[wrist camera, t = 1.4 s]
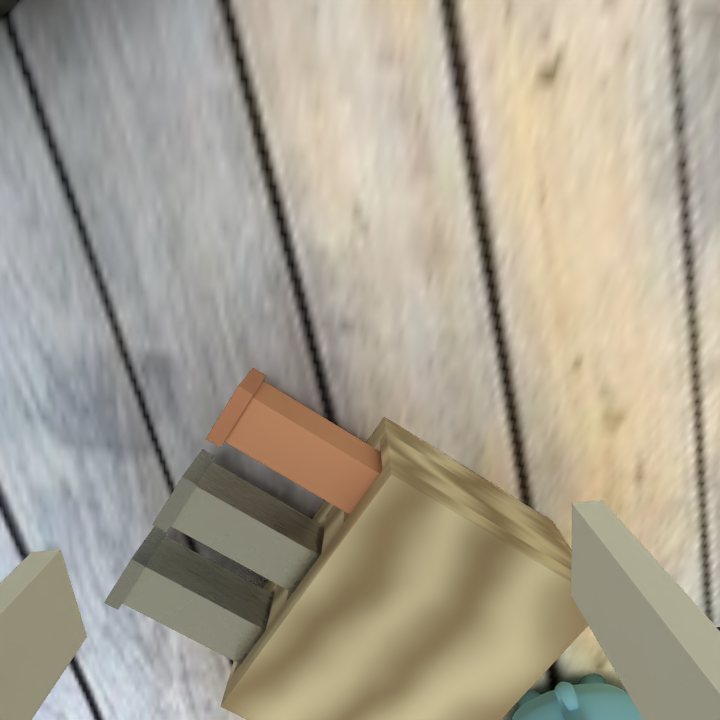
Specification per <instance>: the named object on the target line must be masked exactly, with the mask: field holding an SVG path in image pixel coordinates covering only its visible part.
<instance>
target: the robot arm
mask: <svg viewBox="0 0 720 720" xmlns="http://www.w3.org/2000/svg"><path fill="white" fill-rule="evenodd" d="M17 1H18V0H0V18H1V17H2V16H3V15H5V14H6V13H7V12H8V11H9V10H10V9H11V8H12V7H13V6H14V4H15V3H16V2H17ZM571 596H572V597H573V599H574V601H575V602H576V604H577V606H578V608H579V609H580V611H581V613H582V615H583V616H584V618H585V620H586V622H587V623H588V625H589V627H590V629H591V630H592V632H593V634H594V635H595V637H596V639H597V641H598V642H599V644H600V646H601V648H602V649H603V651H604V653H605V655H606V656H607V658H608V660H609V661H610V663H611V665H612V667H613V668H614V670H615V672H616V674H617V675H618V677H619V679H620V681H621V682H622V684H623V686H624V687H625V689H626V691H627V693H628V694H629V696H630V698H631V700H632V701H633V703H634V705H635V707H636V708H637V710H638V712H639V713H640V715H641V717H642V719H643V720H720V627H716V626H715V625H714V624H713V623H712V622H711V621H710V620H709V619H708V617H707V616H706V615H705V614H704V613H703V612H702V611H701V610H700V608H699V607H698V606H697V605H696V604H695V603H694V602H693V601H692V600H691V598H690V597H689V596H688V595H687V594H686V593H685V592H684V591H683V589H682V588H681V587H680V586H679V585H678V584H677V583H676V582H675V581H674V579H673V578H672V577H671V576H670V575H669V574H668V573H667V572H666V570H665V569H664V568H663V567H662V566H661V565H660V564H659V563H658V561H657V560H656V559H655V558H654V557H653V556H652V555H651V554H650V553H649V551H648V550H647V549H646V548H645V547H644V546H643V545H642V544H641V542H640V541H639V540H638V539H637V538H636V537H635V536H634V535H633V534H632V532H631V531H630V530H629V529H628V528H627V527H626V526H625V525H624V523H623V522H622V521H621V520H620V519H619V518H618V517H617V516H616V515H615V513H614V512H613V511H612V510H611V509H610V508H609V507H608V506H607V504H606V503H605V502H604V501H603V500H600V501H589V502H578V503H572V565H571ZM86 638H87V635H86V632H85V629H84V625H83V622H82V619H81V615H80V612H79V609H78V605H77V602H76V599H75V595H74V592H73V589H72V585H71V582H70V579H69V575H68V572H67V569H66V565H65V562H64V559H63V555H62V552H61V550H51V551H40V552H32V553H31V554H30V555H29V556H28V557H27V558H26V559H25V560H23V561H22V562H21V563H20V564H19V565H18V566H17V567H16V568H15V569H14V570H13V571H12V572H11V573H10V574H9V575H8V576H7V577H6V578H5V579H4V580H3V581H2V582H1V583H0V720H32V718H33V717H34V715H35V714H36V712H37V711H38V709H39V708H40V706H41V705H42V703H43V702H44V700H45V699H46V697H47V696H48V694H49V693H50V691H51V690H52V688H53V687H54V685H55V684H56V682H57V681H58V679H59V678H60V676H61V675H62V673H63V672H64V670H65V669H66V667H67V666H68V664H69V663H70V661H71V660H72V658H73V657H74V655H75V654H76V652H77V651H78V649H79V648H80V646H81V645H82V643H83V642H84V641H85V639H86Z"/></svg>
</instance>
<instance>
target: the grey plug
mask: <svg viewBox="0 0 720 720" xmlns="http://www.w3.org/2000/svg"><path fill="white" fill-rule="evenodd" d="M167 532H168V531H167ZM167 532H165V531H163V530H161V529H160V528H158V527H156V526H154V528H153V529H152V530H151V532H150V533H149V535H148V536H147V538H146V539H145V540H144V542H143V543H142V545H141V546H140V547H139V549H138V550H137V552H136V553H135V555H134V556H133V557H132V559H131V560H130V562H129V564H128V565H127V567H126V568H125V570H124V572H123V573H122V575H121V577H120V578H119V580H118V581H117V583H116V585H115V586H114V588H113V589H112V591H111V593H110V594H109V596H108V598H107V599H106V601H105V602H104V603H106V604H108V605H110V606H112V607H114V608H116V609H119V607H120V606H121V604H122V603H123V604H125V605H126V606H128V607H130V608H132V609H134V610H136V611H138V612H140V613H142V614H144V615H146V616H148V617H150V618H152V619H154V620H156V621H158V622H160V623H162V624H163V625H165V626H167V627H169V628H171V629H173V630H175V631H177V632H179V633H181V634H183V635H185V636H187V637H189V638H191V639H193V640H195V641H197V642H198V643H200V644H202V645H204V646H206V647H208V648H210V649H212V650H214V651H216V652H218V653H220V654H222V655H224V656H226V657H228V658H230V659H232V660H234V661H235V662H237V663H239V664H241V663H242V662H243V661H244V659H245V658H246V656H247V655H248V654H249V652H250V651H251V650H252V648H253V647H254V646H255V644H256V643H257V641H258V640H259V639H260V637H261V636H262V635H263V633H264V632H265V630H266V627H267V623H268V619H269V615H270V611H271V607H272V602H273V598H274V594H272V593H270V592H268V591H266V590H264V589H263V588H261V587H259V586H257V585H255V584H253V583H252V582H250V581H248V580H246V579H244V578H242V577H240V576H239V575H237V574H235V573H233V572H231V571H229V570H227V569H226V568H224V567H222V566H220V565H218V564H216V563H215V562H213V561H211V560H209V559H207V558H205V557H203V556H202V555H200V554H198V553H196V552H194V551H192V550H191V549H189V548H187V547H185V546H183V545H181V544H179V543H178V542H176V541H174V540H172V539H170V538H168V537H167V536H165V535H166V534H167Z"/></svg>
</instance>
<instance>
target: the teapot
mask: <svg viewBox="0 0 720 720" xmlns="http://www.w3.org/2000/svg"><path fill="white" fill-rule="evenodd" d="M518 705H519V707H520V708H519V709H518V710H517V711H516V712H515V713H514V715H513V718H512V720H643V719H642V717H641V715H640V713H639V712H638V710H637V708H636V707H635V705H634V703H633V701H632V700H631V698H630V696H629V694H628V693H627V692H626V691H624V690H622V689H620V688H618V687H616V686H613V685H610V684H605V680H604V679H603V677H602V676H600V675H598V674H589V675H586V676H584V677H583V678H582V679H581V680H580V682H579V684H577V685H572V684H571V683H569V682H560V683H558V684H557V685H556V687H555V689H554V690H552V691H549V692H546V693H544V694H542V695H541V694H540V693H539V692H537V691H534V690H528V691H527V692H526V693H525V694H524V695H523V696H522V697H521V699H520V700H519V701H518Z"/></svg>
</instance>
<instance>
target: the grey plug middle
mask: <svg viewBox="0 0 720 720" xmlns="http://www.w3.org/2000/svg"><path fill="white" fill-rule="evenodd" d="M214 458H215V456H214V455H212V454H210V453H209V452H207V451H205V450H203V449H202V451H201V452H200V453H199V455H198V456H197V457H196V459H195V460H194V462H193V463H192V464H191V466H190V467H189V468H188V470H187V471H186V472H185V474H184V475H183V476H182V478H181V480H180V481H179V483H178V485H177V486H176V488H175V489H174V491H173V493H172V494H171V496H170V497H169V499H168V501H167V502H166V504H165V506H164V507H163V509H162V510H161V512H160V514H159V515H158V517H157V518H156V520H155V522H154V523H153V525H154V526H156V527H158V528H160V529H161V530H163V531H165V532H167V531H168V530H169V528H170V526H171V527H173V528H175V529H177V530H179V531H180V532H182V533H184V534H186V535H188V536H190V537H191V538H193V539H195V540H197V541H199V542H201V543H202V544H204V545H206V546H208V547H210V548H212V549H213V550H215V551H217V552H219V553H221V554H223V555H224V556H226V557H228V558H230V559H232V560H234V561H235V562H237V563H239V564H241V565H243V566H245V567H246V568H248V569H250V570H252V571H254V572H256V573H257V574H259V575H261V576H263V577H265V578H267V579H268V580H270V581H272V582H274V583H276V584H278V585H279V586H281V587H283V588H285V589H287V590H289V591H290V592H292V593H293V592H294V591H295V589H296V588H297V587H298V585H299V584H300V583H301V581H302V580H303V578H304V577H305V576H306V574H307V573H308V572H309V570H310V569H311V567H312V566H313V565H314V563H315V562H316V561H317V559H318V558H319V556H320V555H321V553H322V545H323V537H324V529H325V526H324V525H322V524H320V523H318V522H317V521H315V520H313V519H311V518H310V517H308V516H306V515H304V514H303V513H301V512H299V511H297V510H296V509H294V508H292V507H290V506H289V505H287V504H285V503H283V502H282V501H280V500H278V499H276V498H275V497H273V496H271V495H269V494H268V493H266V492H264V491H263V490H261V489H259V488H257V487H256V486H254V485H252V484H250V483H249V482H247V481H245V480H243V479H242V478H240V477H238V476H236V475H235V474H233V473H231V472H229V471H228V470H226V469H224V468H222V467H221V466H219V465H217V464H215V463H214V462H212V461H213V459H214Z"/></svg>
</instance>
